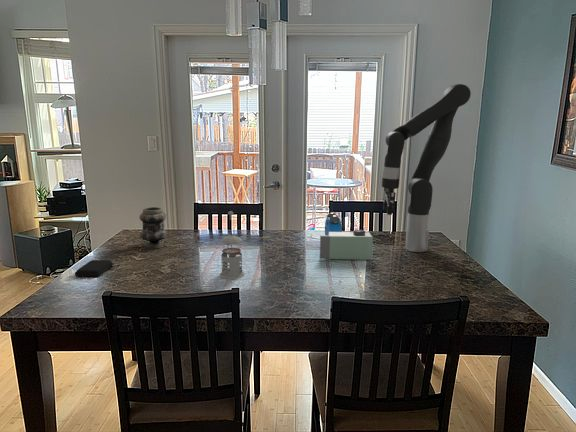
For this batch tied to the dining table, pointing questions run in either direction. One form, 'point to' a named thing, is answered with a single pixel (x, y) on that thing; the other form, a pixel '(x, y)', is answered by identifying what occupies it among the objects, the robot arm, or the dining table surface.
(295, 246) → the dining table surface
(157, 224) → the apothecary jar
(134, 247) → the dining table surface
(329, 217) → the alarm clock
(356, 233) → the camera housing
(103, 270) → the carrying case or bag
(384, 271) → the dining table surface
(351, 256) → the side door
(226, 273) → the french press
